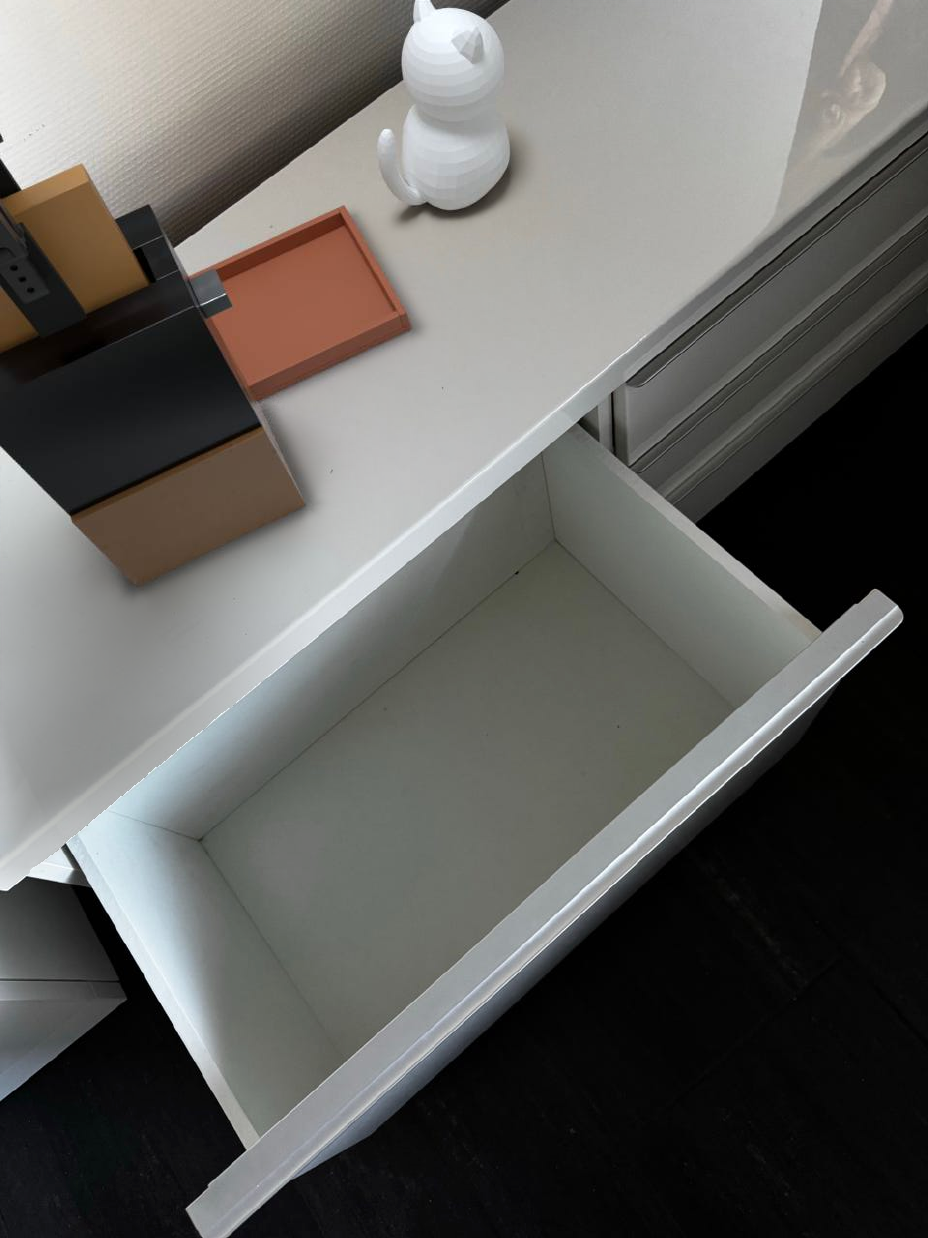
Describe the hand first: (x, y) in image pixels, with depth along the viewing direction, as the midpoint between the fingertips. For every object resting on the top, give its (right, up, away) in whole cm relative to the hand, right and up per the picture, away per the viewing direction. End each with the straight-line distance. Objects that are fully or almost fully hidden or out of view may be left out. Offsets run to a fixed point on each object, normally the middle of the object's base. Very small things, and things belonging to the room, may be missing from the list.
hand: (49, 288), depth 58 cm
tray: (+10, +7, +27) cm, 29 cm away
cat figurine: (+23, +18, +30) cm, 42 cm away
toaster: (+3, -9, +21) cm, 23 cm away
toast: (+1, -2, +4) cm, 5 cm away
